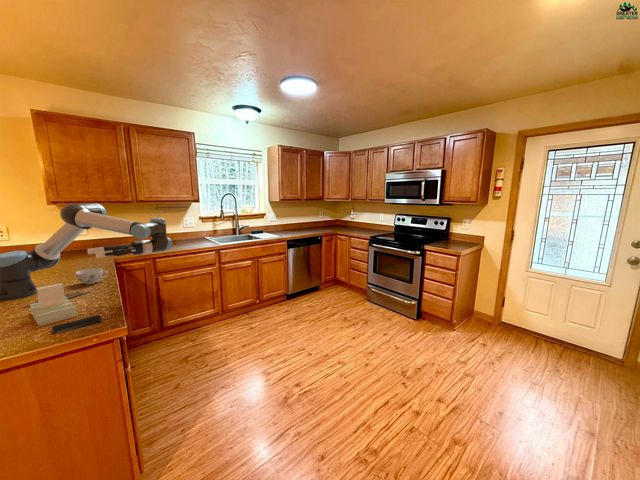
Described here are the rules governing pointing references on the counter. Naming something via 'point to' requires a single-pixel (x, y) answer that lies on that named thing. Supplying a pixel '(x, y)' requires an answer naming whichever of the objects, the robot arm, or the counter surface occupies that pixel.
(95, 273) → the teacup
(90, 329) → the counter surface
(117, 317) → the counter surface
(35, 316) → the slotted rack base
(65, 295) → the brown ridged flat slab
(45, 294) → the beige rectangular block
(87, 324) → the phone
